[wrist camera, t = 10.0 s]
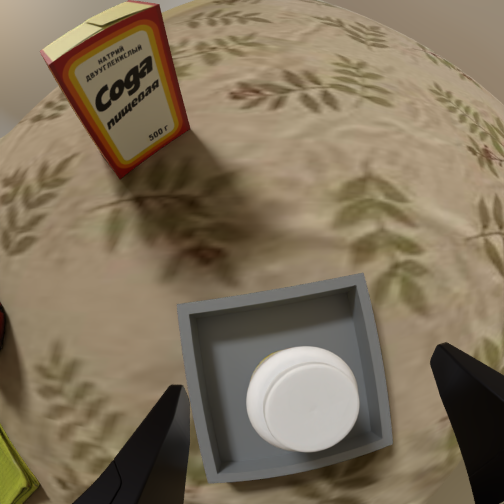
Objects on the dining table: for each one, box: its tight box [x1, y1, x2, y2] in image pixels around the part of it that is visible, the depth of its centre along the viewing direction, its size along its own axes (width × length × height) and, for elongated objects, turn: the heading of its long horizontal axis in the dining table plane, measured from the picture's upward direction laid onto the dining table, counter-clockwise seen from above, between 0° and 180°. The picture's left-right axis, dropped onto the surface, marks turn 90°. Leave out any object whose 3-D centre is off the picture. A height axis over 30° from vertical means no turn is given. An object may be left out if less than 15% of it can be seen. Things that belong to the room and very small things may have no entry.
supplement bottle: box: [246, 346, 360, 452], centre depth 14 cm, size 6×6×10 cm
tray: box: [177, 273, 393, 483], centre depth 18 cm, size 14×14×3 cm
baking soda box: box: [40, 0, 190, 179], centre depth 21 cm, size 10×6×16 cm
